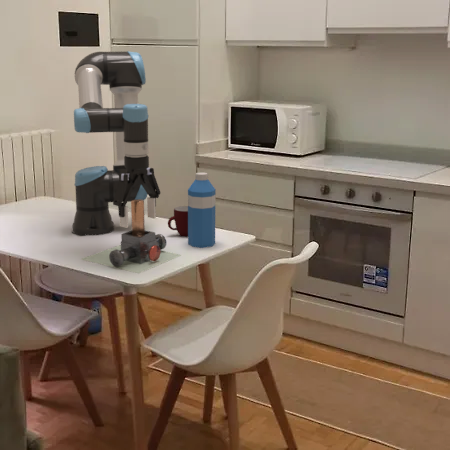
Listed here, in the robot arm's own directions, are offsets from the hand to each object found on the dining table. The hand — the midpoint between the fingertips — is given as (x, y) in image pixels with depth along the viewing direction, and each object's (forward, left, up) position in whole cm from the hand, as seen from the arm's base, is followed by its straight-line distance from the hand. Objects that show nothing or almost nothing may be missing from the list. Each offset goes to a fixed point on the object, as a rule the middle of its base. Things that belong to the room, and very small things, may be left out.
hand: (138, 222), depth 217 cm
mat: (-3, 0, -13) cm, 13 cm away
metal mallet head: (+1, 0, -12) cm, 12 cm away
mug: (-5, +30, -13) cm, 33 cm away
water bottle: (+7, +25, -13) cm, 29 cm away
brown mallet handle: (0, 0, -6) cm, 6 cm away
